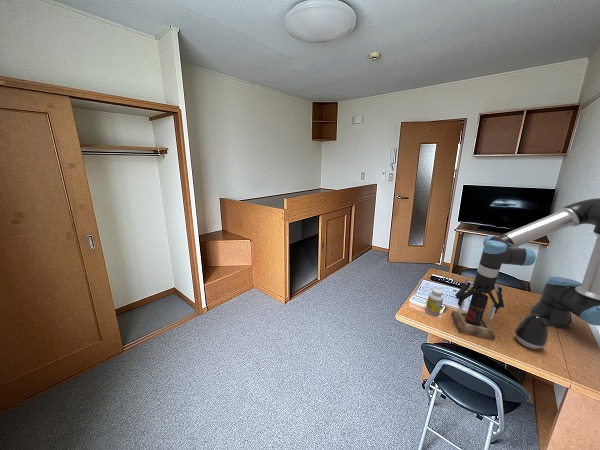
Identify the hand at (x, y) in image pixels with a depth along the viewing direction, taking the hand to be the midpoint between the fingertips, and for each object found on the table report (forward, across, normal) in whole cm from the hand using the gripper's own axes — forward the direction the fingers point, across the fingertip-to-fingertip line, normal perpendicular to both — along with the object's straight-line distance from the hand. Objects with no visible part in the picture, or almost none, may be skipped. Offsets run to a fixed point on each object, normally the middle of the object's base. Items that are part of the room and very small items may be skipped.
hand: (474, 314), depth 116 cm
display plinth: (+7, 0, 0) cm, 7 cm away
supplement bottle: (+7, +16, -6) cm, 18 cm away
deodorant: (+5, 0, 0) cm, 5 cm away
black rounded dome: (+7, -21, +4) cm, 22 cm away
